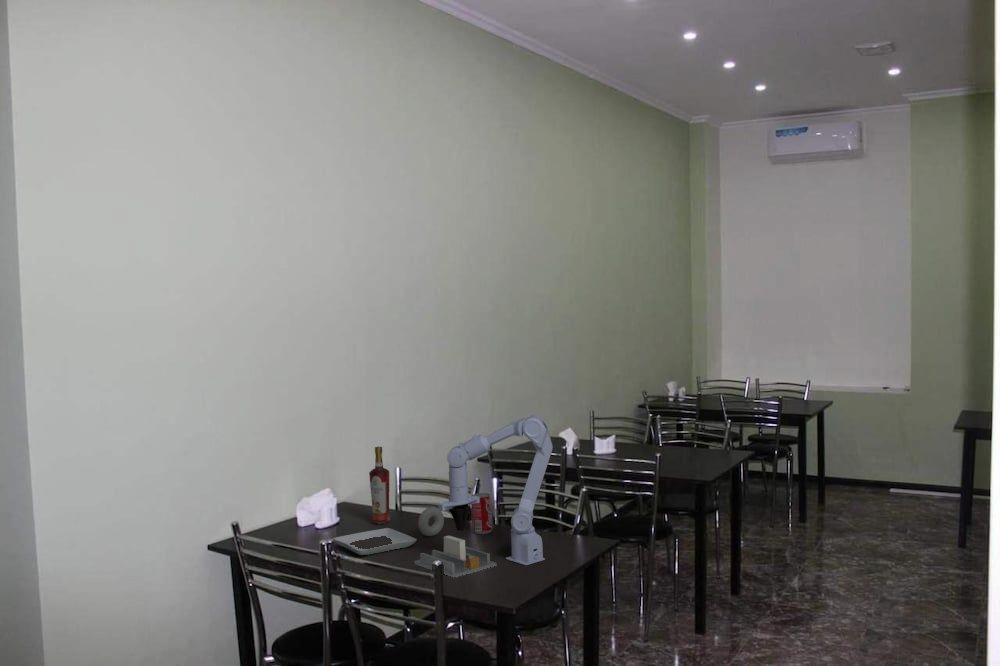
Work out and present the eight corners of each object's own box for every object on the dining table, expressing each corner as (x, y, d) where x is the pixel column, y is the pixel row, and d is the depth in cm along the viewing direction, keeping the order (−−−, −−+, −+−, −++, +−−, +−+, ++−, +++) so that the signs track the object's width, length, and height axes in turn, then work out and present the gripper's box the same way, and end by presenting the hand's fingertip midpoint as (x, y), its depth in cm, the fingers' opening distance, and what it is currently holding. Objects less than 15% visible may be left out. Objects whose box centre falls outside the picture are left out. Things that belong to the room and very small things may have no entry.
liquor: (368, 525, 310) (365, 448, 310) (375, 520, 317) (372, 445, 317) (387, 525, 309) (384, 448, 308) (394, 520, 316) (391, 445, 315)
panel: (465, 563, 255) (465, 540, 255) (460, 564, 253) (459, 541, 253) (449, 558, 261) (448, 535, 261) (444, 559, 260) (443, 536, 259)
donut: (422, 539, 288) (421, 510, 287) (416, 538, 290) (415, 508, 290) (446, 534, 294) (445, 505, 294) (440, 532, 297) (439, 503, 296)
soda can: (490, 535, 291) (488, 497, 290) (469, 534, 292) (468, 496, 292) (494, 529, 298) (493, 492, 297) (474, 529, 299) (473, 492, 299)
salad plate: (388, 536, 296) (387, 526, 296) (418, 548, 278) (418, 538, 278) (331, 547, 284) (331, 537, 284) (359, 561, 266) (358, 550, 266)
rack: (496, 566, 255) (496, 552, 255) (453, 578, 244) (453, 564, 244) (456, 553, 270) (455, 540, 270) (414, 564, 260) (413, 551, 260)
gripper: (468, 480, 269) (470, 523, 270) (431, 488, 260) (433, 532, 260) (483, 483, 264) (484, 527, 264) (445, 491, 254) (447, 536, 255)
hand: (460, 530), depth 262 cm, fingers closed
